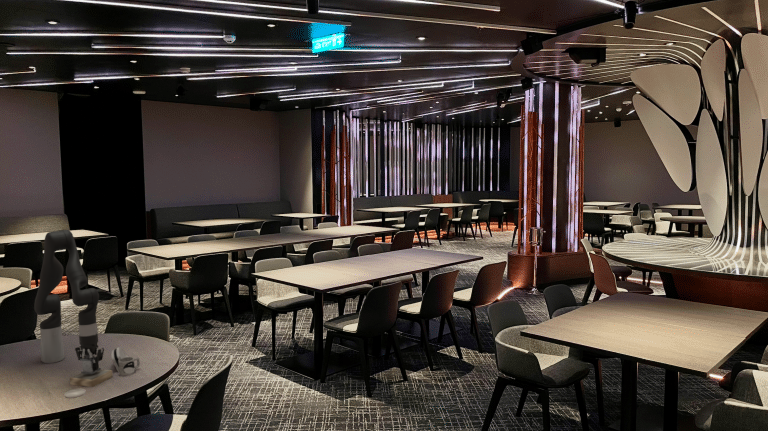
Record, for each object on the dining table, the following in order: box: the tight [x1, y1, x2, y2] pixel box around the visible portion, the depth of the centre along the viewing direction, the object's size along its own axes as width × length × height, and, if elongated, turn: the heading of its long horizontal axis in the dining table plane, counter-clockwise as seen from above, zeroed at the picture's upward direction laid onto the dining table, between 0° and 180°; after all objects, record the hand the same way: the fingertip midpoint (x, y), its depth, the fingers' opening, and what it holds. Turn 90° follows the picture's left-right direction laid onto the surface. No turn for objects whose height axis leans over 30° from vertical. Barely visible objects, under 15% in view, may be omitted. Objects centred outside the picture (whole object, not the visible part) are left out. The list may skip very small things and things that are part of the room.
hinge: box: [110, 346, 130, 373], centre depth 273 cm, size 17×5×10 cm, turn 22°
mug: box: [118, 356, 141, 377], centre depth 265 cm, size 10×7×7 cm, turn 148°
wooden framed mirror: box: [69, 369, 114, 388], centre depth 255 cm, size 12×12×3 cm
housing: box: [79, 354, 102, 374], centre depth 255 cm, size 6×6×7 cm
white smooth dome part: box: [64, 387, 87, 399], centre depth 241 cm, size 8×8×1 cm
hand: (91, 369), depth 255 cm, fingers closed on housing, 4 cm apart
